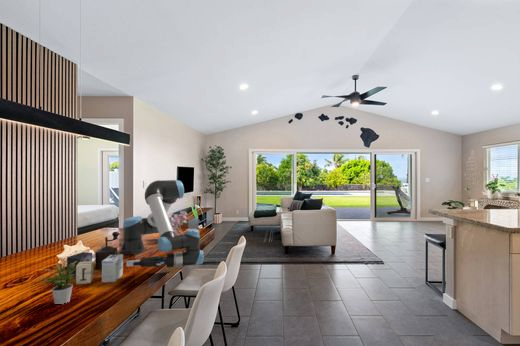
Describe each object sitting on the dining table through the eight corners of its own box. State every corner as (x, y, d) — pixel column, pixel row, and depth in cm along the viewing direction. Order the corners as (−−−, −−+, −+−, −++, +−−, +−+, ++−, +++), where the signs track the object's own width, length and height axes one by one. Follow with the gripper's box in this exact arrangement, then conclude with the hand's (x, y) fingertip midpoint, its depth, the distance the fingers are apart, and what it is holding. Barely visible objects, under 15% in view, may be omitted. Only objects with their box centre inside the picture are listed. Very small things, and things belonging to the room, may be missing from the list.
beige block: (79, 280, 143) (79, 262, 143) (93, 278, 145) (93, 260, 145) (76, 284, 137) (76, 265, 137) (90, 283, 139) (90, 264, 139)
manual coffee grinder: (116, 267, 162) (117, 235, 162) (94, 269, 158) (94, 237, 158) (119, 259, 177) (119, 230, 177) (99, 261, 172) (99, 232, 173)
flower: (173, 233, 249) (163, 209, 240) (196, 232, 242) (186, 207, 233) (161, 248, 232) (149, 222, 222) (185, 247, 225) (174, 221, 215)
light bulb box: (109, 275, 150) (109, 254, 150) (123, 274, 151) (123, 254, 151) (101, 282, 139) (101, 260, 139) (115, 282, 140) (115, 260, 140)
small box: (76, 278, 145) (76, 257, 145) (65, 277, 146) (66, 257, 146) (92, 271, 155) (92, 252, 155) (82, 270, 156) (82, 251, 156)
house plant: (59, 293, 126) (59, 256, 126) (90, 293, 126) (90, 256, 126) (32, 308, 112) (33, 266, 112) (67, 309, 112) (67, 267, 112)
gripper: (174, 270, 148) (124, 275, 141) (173, 263, 161) (128, 267, 153) (174, 255, 148) (124, 260, 141) (173, 249, 161) (128, 253, 153)
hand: (126, 263), depth 147 cm, fingers closed
